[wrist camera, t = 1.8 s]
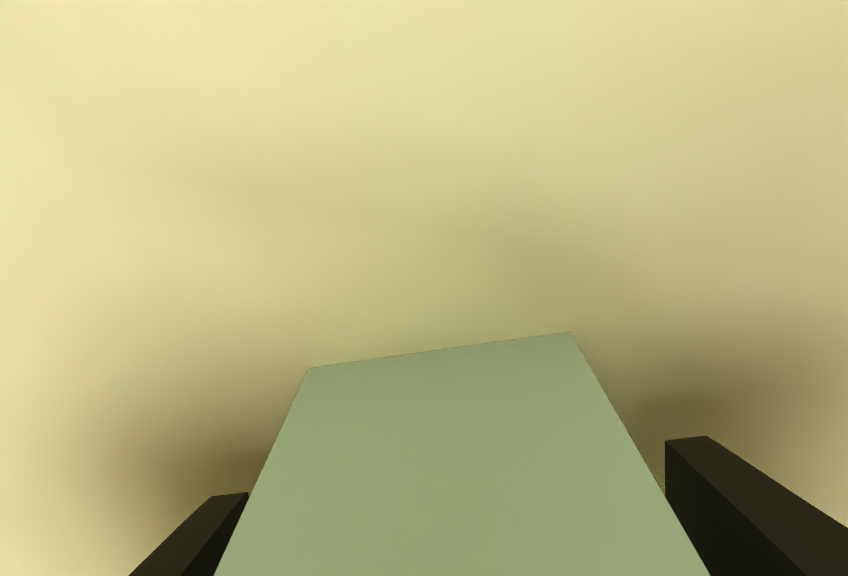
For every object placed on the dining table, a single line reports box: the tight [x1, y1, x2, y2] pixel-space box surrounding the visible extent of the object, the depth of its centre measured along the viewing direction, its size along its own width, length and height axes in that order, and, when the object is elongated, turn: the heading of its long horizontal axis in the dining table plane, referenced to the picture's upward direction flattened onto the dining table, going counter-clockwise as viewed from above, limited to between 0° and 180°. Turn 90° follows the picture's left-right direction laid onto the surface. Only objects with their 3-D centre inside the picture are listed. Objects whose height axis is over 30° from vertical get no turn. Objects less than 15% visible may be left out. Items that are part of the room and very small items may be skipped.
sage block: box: [214, 332, 710, 576], centre depth 7 cm, size 4×4×5 cm
